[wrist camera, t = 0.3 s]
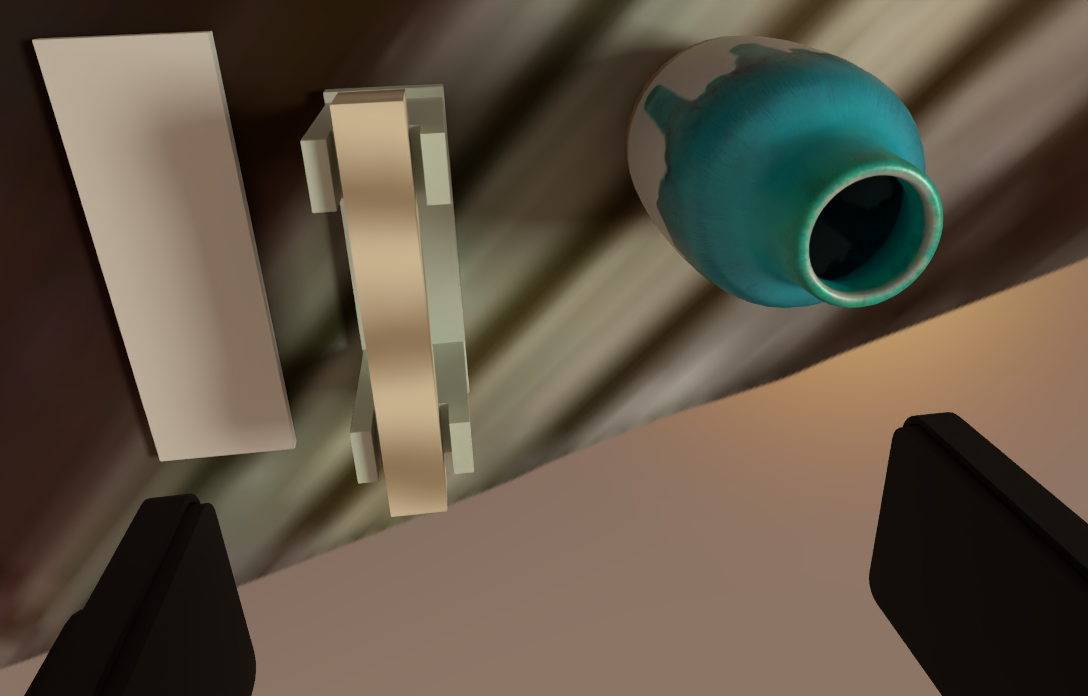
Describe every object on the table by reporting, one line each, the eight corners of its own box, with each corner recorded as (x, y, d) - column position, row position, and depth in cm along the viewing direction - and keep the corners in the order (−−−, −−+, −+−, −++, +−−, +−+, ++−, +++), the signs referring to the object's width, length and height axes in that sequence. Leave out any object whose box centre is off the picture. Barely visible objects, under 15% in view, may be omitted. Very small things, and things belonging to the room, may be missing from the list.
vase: (683, 254, 47) (825, 426, 30) (567, 122, 43) (656, 236, 26) (828, 130, 45) (1070, 240, 28) (721, -23, 40) (930, -3, 23)
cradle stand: (325, 89, 40) (295, 128, 32) (443, 83, 41) (445, 120, 32) (371, 393, 49) (357, 491, 40) (468, 384, 49) (476, 479, 40)
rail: (337, 92, 33) (329, 104, 30) (405, 89, 33) (403, 101, 31) (393, 480, 42) (391, 516, 39) (446, 475, 42) (447, 510, 40)
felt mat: (39, 38, 38) (31, 40, 37) (211, 31, 39) (207, 32, 38) (164, 453, 49) (160, 461, 48) (296, 441, 49) (294, 448, 49)
